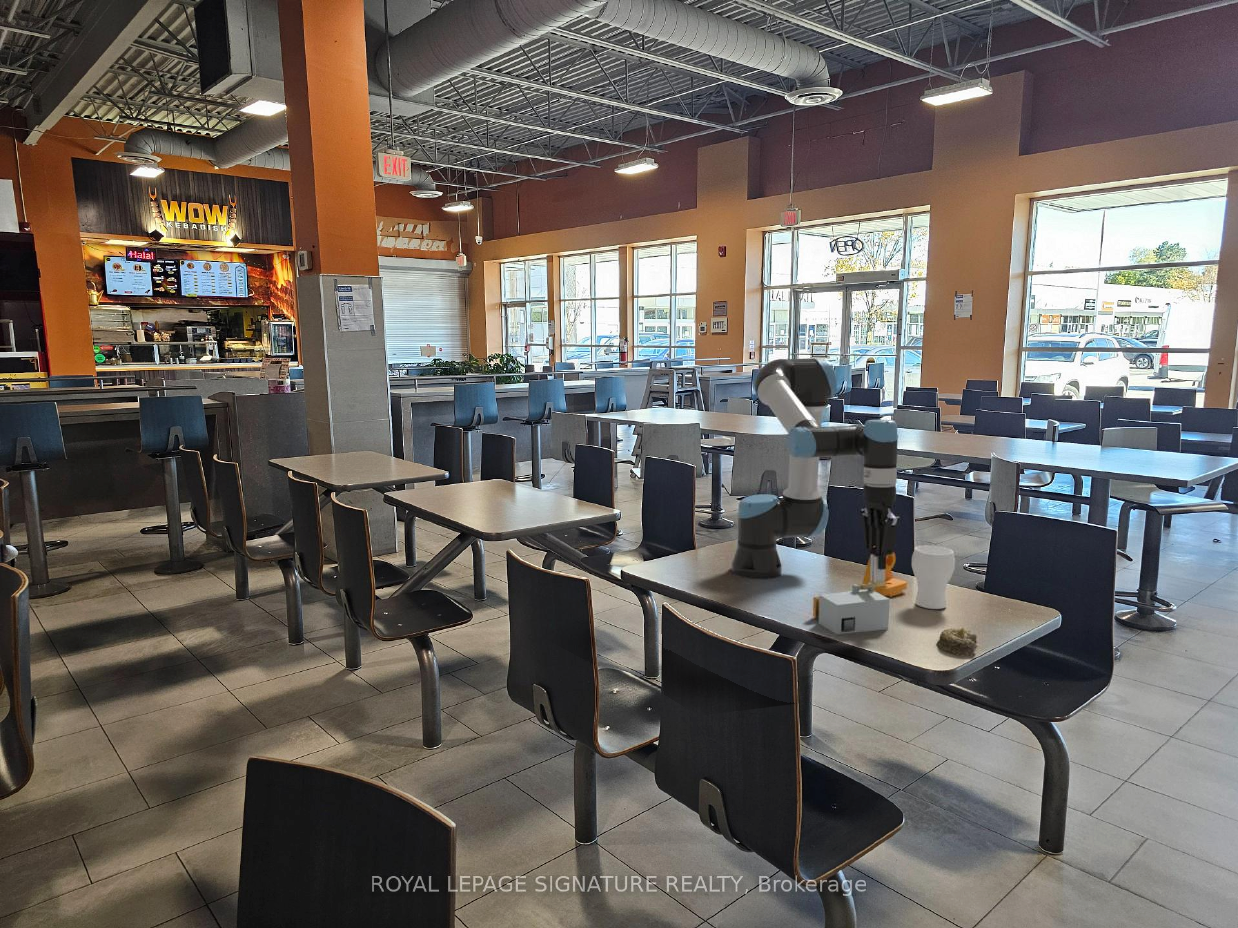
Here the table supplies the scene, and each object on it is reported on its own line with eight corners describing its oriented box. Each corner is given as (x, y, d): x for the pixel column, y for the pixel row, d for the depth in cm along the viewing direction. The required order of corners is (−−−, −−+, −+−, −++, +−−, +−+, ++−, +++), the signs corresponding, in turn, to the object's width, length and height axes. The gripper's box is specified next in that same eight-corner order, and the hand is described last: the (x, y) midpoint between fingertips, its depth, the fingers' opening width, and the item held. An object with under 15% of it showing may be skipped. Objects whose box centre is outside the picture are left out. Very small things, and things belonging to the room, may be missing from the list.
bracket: (884, 598, 215) (886, 556, 213) (862, 592, 221) (863, 550, 219) (907, 591, 221) (909, 550, 219) (885, 584, 227) (887, 544, 225)
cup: (909, 608, 207) (912, 553, 205) (909, 596, 217) (912, 543, 214) (953, 613, 203) (956, 556, 201) (951, 600, 213) (954, 546, 211)
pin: (812, 616, 199) (813, 597, 198) (830, 613, 200) (830, 595, 200) (839, 633, 187) (840, 612, 187) (857, 630, 189) (858, 610, 188)
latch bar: (856, 589, 196) (856, 585, 196) (868, 588, 197) (867, 583, 197) (876, 586, 188) (875, 581, 188) (887, 585, 189) (887, 580, 189)
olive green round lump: (936, 655, 177) (938, 632, 176) (935, 639, 186) (936, 617, 185) (985, 661, 174) (986, 638, 173) (981, 645, 183) (983, 622, 182)
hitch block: (818, 625, 195) (819, 587, 194) (868, 619, 199) (870, 582, 198) (836, 637, 188) (837, 597, 186) (888, 630, 192) (889, 591, 190)
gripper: (849, 481, 193) (848, 575, 196) (883, 489, 180) (881, 589, 183) (876, 480, 195) (874, 573, 198) (911, 487, 182) (908, 586, 185)
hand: (877, 580), depth 190 cm, fingers closed
